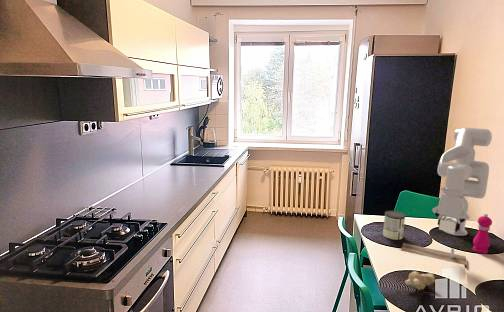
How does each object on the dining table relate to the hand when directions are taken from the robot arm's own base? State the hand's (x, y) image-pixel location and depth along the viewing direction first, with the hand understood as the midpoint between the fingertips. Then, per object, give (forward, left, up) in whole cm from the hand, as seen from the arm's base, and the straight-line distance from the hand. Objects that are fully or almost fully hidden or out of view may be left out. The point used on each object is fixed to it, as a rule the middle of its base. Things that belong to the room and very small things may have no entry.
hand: (448, 228), depth 164 cm
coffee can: (-12, -25, -16) cm, 32 cm away
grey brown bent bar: (0, -5, -16) cm, 16 cm away
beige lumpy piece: (+35, -9, -16) cm, 39 cm away
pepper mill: (-20, +16, -16) cm, 30 cm away
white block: (0, 0, -1) cm, 1 cm away
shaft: (0, +3, -14) cm, 14 cm away
